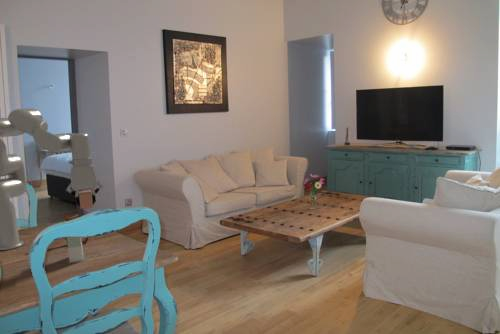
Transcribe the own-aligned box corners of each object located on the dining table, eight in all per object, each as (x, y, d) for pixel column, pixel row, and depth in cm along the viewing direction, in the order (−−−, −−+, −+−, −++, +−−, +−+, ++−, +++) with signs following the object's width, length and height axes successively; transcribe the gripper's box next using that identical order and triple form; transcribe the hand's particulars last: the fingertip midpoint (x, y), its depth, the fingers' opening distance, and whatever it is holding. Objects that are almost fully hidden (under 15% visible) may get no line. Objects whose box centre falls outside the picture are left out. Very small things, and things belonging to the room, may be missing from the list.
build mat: (68, 258, 190) (67, 256, 190) (86, 255, 193) (86, 254, 192) (67, 264, 182) (66, 263, 182) (86, 262, 184) (85, 260, 184)
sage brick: (69, 242, 189) (67, 228, 188) (81, 241, 191) (80, 227, 190) (68, 248, 182) (66, 233, 181) (81, 246, 183) (79, 232, 182)
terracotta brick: (80, 205, 196) (79, 191, 195) (92, 203, 198) (91, 190, 197) (80, 208, 188) (79, 194, 188) (93, 207, 190) (91, 193, 189)
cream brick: (70, 256, 190) (69, 242, 189) (83, 254, 192) (81, 241, 191) (69, 262, 182) (68, 248, 182) (83, 260, 184) (81, 246, 183)
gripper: (60, 165, 184) (64, 209, 187) (103, 161, 190) (107, 204, 192) (60, 163, 191) (65, 205, 194) (102, 160, 197) (106, 200, 199)
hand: (86, 204), depth 193 cm, fingers closed on terracotta brick, 5 cm apart
